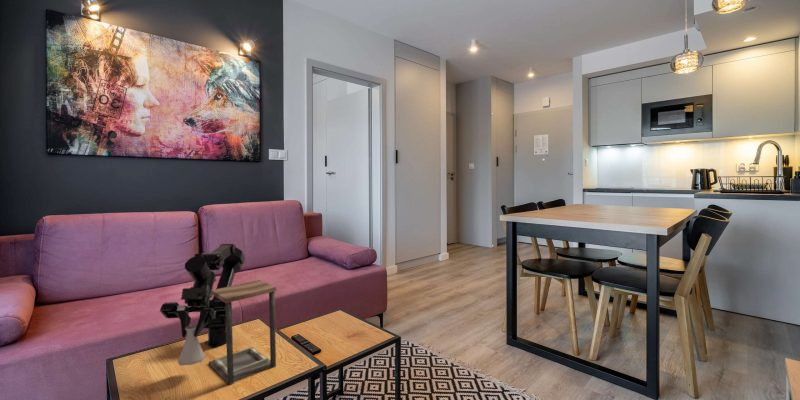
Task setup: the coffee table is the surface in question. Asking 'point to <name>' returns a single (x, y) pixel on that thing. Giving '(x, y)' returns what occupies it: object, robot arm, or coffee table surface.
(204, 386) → the coffee table surface
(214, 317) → the robot arm
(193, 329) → the flask
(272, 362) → the wooden top side table
